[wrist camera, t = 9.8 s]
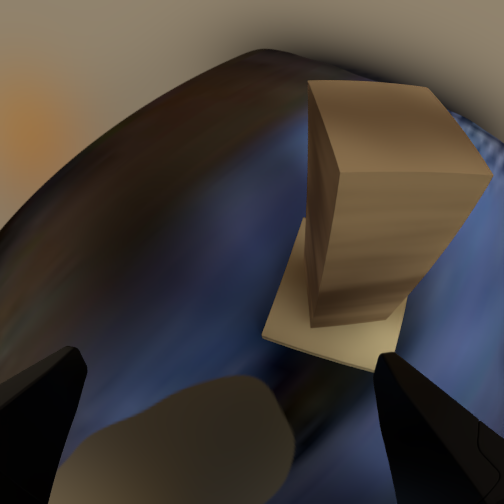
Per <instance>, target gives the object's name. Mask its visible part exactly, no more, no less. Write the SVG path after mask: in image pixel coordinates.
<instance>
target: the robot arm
mask: <svg viewBox="0 0 504 504" xmlns="http://www.w3.org/2000/svg"><path fill="white" fill-rule="evenodd" d="M86 375H87V365H86V363H85V361H84V359H83V357H82V355H81V353H80V351H79V350H78V349H77V348H76V347H71V346H66V347H64V348H62V349H60V350H59V351H57V352H55V353H53V354H52V355H50V356H48V357H46V358H45V359H43V360H41V361H39V362H38V363H36V364H34V365H32V366H31V367H29V368H27V369H25V370H24V371H22V372H20V373H19V374H17V375H15V376H13V377H12V378H10V379H8V380H7V381H5V382H3V383H1V384H0V504H48V501H49V497H50V493H51V490H52V486H53V482H54V478H55V475H56V471H57V468H58V465H59V461H60V458H61V455H62V452H63V449H64V446H65V442H66V439H67V437H68V434H69V431H70V428H71V425H72V422H73V419H74V417H75V414H76V411H77V408H78V404H79V400H80V397H81V393H82V389H83V386H84V382H85V379H86ZM373 382H374V388H375V395H376V401H377V408H378V415H379V422H380V428H381V432H382V436H383V440H384V444H385V448H386V453H387V457H388V461H389V465H390V470H391V474H392V479H393V484H394V489H395V494H396V499H397V504H504V439H503V438H502V437H501V436H499V435H498V434H497V433H495V432H494V431H493V430H491V429H490V428H489V427H488V426H486V425H485V424H484V423H483V422H481V421H479V420H478V418H476V417H475V416H474V415H473V414H471V413H470V412H469V411H468V410H466V409H465V408H464V407H463V406H462V405H460V404H459V403H458V402H457V401H455V400H454V399H453V398H452V397H450V396H449V395H448V394H447V393H445V392H444V391H443V390H442V389H440V388H439V387H438V386H437V385H435V384H434V383H433V382H432V381H430V380H429V379H428V378H427V377H425V376H424V375H423V374H422V373H420V372H419V371H418V370H417V369H415V368H414V367H413V366H411V365H410V364H409V363H408V362H406V361H405V360H404V359H403V358H401V357H400V356H399V355H398V354H396V353H395V352H386V353H381V354H380V355H379V357H378V360H377V363H376V367H375V370H374V374H373Z"/></svg>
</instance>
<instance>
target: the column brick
mask: <svg viewBox="0 0 504 504" xmlns="http://www.w3.org/2000/svg"><path fill="white" fill-rule="evenodd" d="M492 177H493V174H492V172H491V171H490V169H489V167H488V166H487V164H486V163H485V161H484V160H483V158H482V157H481V155H480V154H479V152H478V151H477V149H476V148H475V146H474V145H473V143H472V142H471V141H470V139H469V138H468V136H467V135H466V134H465V132H464V131H463V130H462V128H461V127H460V126H459V124H458V123H457V122H456V121H455V119H454V118H453V117H452V116H451V114H450V113H449V112H448V111H447V109H446V108H445V107H444V106H443V105H442V103H441V102H440V101H439V100H438V99H437V98H436V97H435V96H434V94H433V93H432V92H431V91H430V90H429V89H428V88H425V87H419V86H411V85H403V84H393V83H382V82H367V81H341V80H314V81H308V174H307V204H306V226H305V245H304V266H305V275H306V285H307V295H308V305H309V316H310V328H320V327H331V326H340V325H350V324H358V323H366V322H374V321H382V320H386V319H387V318H388V317H389V316H390V315H391V314H392V313H393V312H394V310H395V309H396V308H397V307H398V306H399V305H400V304H401V303H402V302H403V300H404V299H405V298H406V297H407V296H408V295H409V294H410V292H411V291H412V290H413V289H414V288H415V287H416V285H417V284H418V283H419V282H420V281H421V279H422V278H423V277H424V276H425V275H426V273H427V272H428V271H429V270H430V268H431V267H432V266H433V264H434V263H435V262H436V261H437V259H438V258H439V257H440V255H441V254H442V253H443V251H444V250H445V249H446V247H447V246H448V245H449V243H450V242H451V241H452V239H453V238H454V236H455V235H456V234H457V232H458V231H459V229H460V228H461V227H462V225H463V224H464V222H465V221H466V219H467V218H468V216H469V215H470V213H471V212H472V210H473V209H474V207H475V205H476V204H477V202H478V201H479V199H480V197H481V196H482V194H483V193H484V191H485V189H486V188H487V186H488V184H489V182H490V181H491V179H492Z"/></svg>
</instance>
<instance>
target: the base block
mask: <svg viewBox="0 0 504 504" xmlns="http://www.w3.org/2000/svg"><path fill="white" fill-rule="evenodd" d="M305 226H306V218H304V217H303V220H302V223H301V226H300V229H299V232H298V235H297V238H296V241H295V243H294V246H293V249H292V252H291V255H290V258H289V261H288V264H287V266H286V269H285V272H284V275H283V278H282V281H281V283H280V286H279V289H278V292H277V294H276V297H275V300H274V303H273V305H272V308H271V311H270V314H269V316H268V319H267V322H266V324H265V327H264V330H263V332H262V335H261V336H262V337H263V339H266V340H269V341H272V342H274V343H277V344H280V345H283V346H286V347H289V348H292V349H295V350H298V351H302V352H305V353H308V354H311V355H314V356H317V357H321V358H324V359H327V360H330V361H334V362H337V363H341V364H344V365H348V366H351V367H355V368H358V369H362V370H366V371H369V372H373V373H374V370H375V367H376V363H377V360H378V357H379V355H380V354H381V353H386V352H395V348H396V344H397V340H398V336H399V332H400V328H401V324H402V320H403V315H404V311H405V306H406V301H407V297H406V298H405V299H404V300H403V302H402V303H401V304H400V305H399V306H398V307H397V308H396V309H395V310H394V312H393V313H392V314H391V315H390V316H389V317H388V318H387V319H386V320H382V321H374V322H366V323H358V324H350V325H340V326H331V327H320V328H310V316H309V305H308V295H307V285H306V275H305V266H304V245H305Z"/></svg>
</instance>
